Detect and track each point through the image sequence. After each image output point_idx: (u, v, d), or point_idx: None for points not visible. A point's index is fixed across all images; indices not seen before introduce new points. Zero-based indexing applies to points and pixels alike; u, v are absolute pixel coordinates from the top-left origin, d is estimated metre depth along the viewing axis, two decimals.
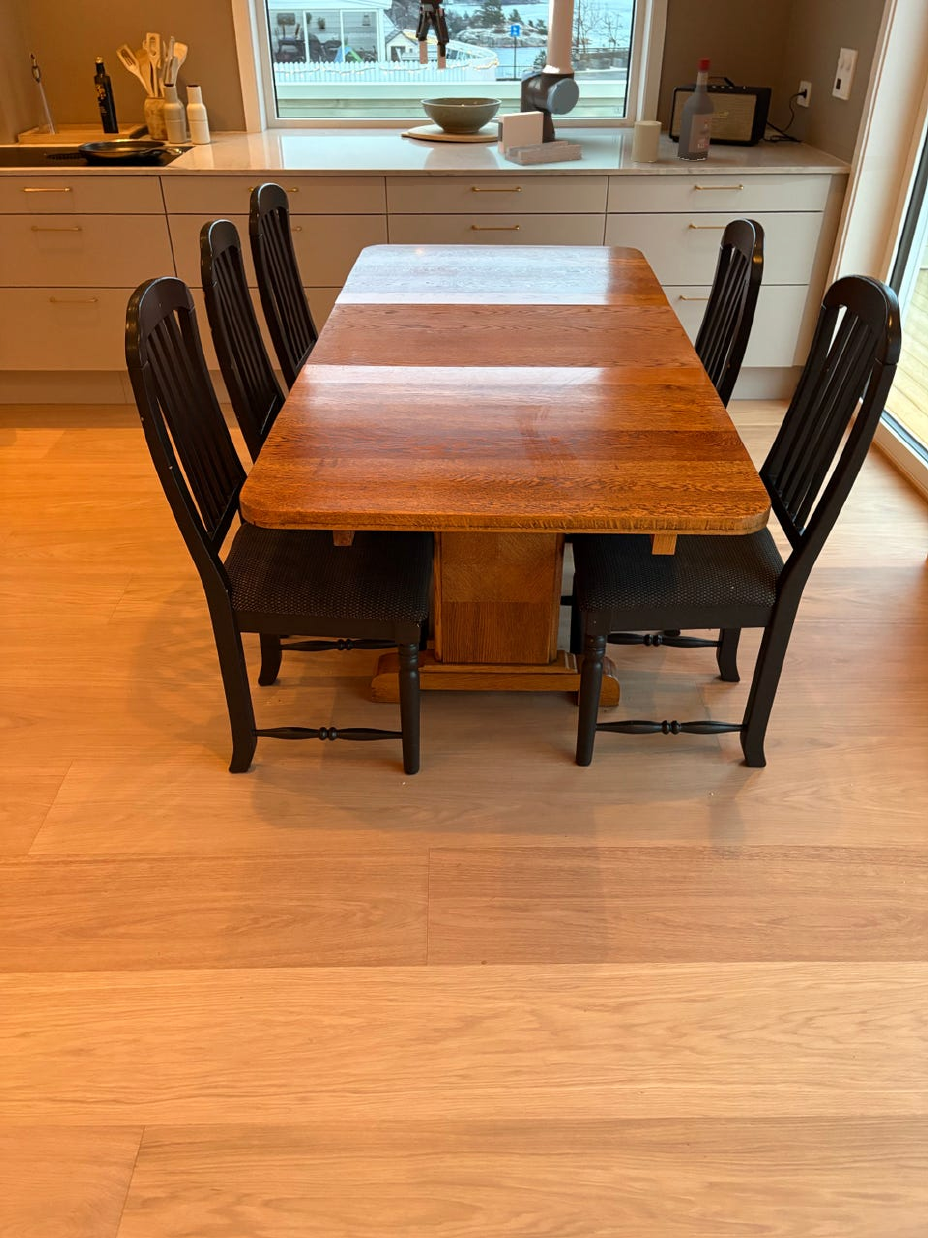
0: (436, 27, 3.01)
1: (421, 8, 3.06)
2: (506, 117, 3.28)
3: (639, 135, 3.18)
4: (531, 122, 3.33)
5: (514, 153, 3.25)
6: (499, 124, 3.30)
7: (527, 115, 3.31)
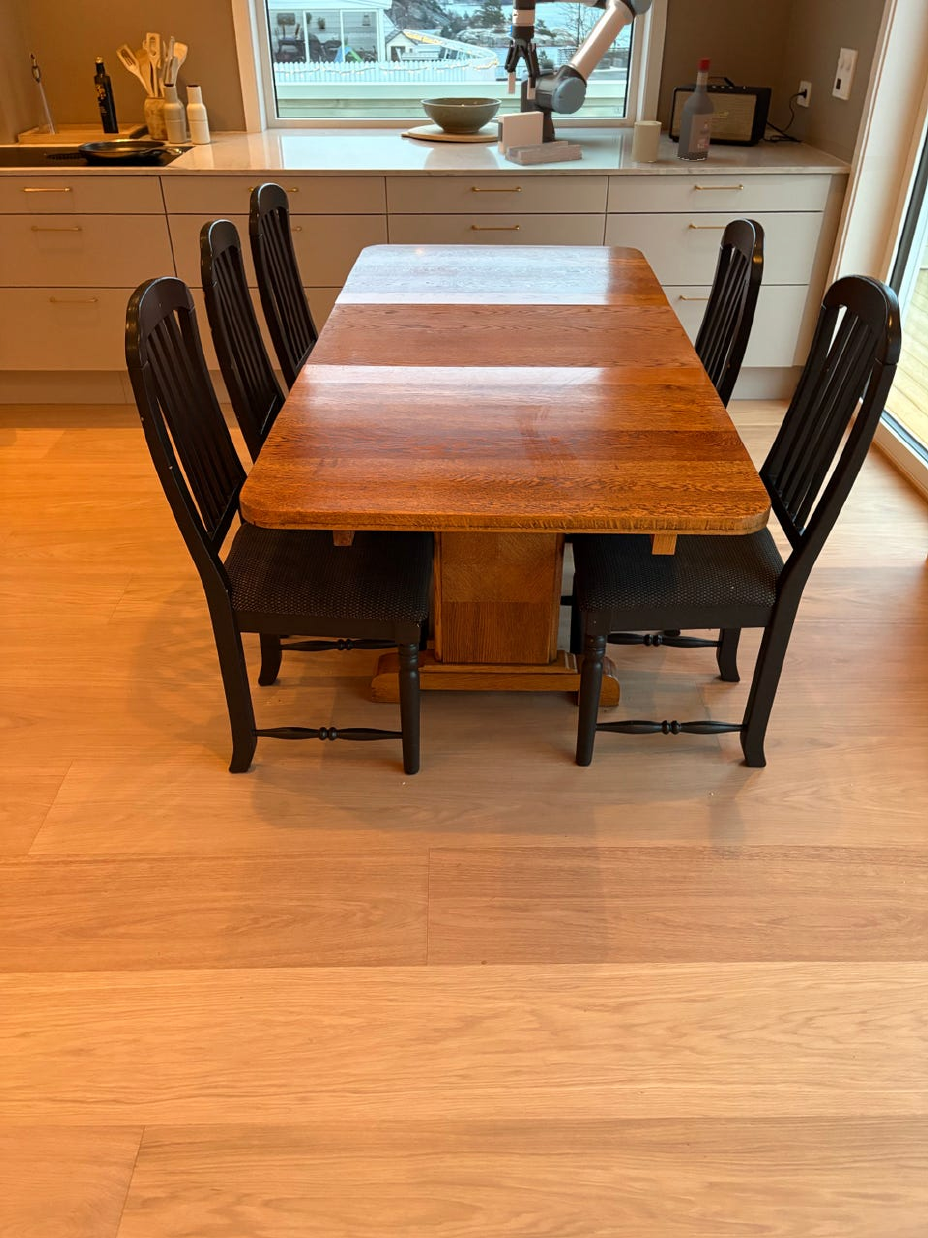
0: (527, 60, 3.18)
1: (512, 42, 3.23)
2: (506, 117, 3.28)
3: (639, 135, 3.18)
4: (531, 122, 3.33)
5: (514, 153, 3.25)
6: (499, 124, 3.30)
7: (527, 115, 3.31)
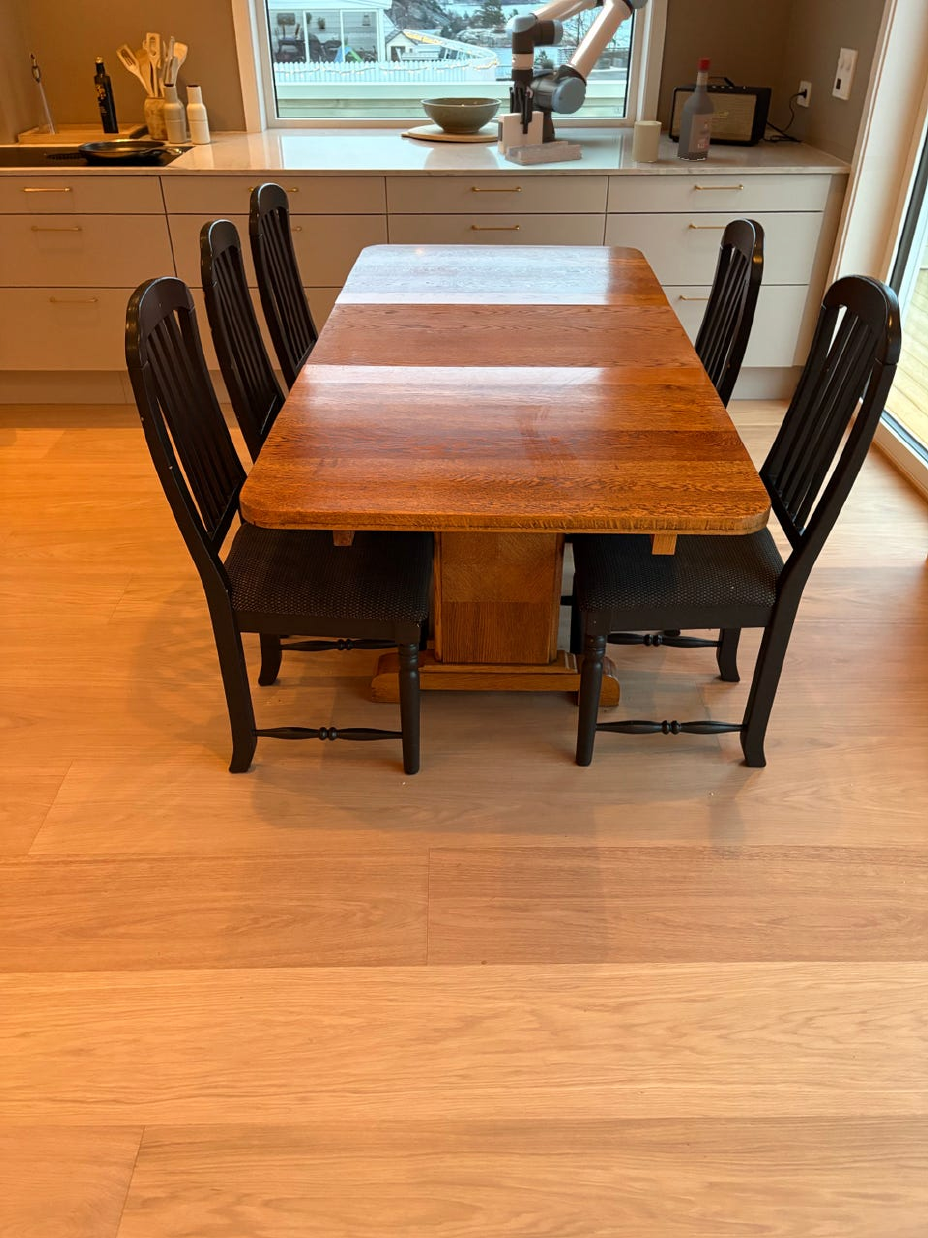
0: (523, 106, 3.28)
1: (511, 88, 3.31)
2: (506, 117, 3.28)
3: (639, 135, 3.18)
4: (531, 122, 3.33)
5: (514, 153, 3.25)
6: (499, 124, 3.30)
7: None
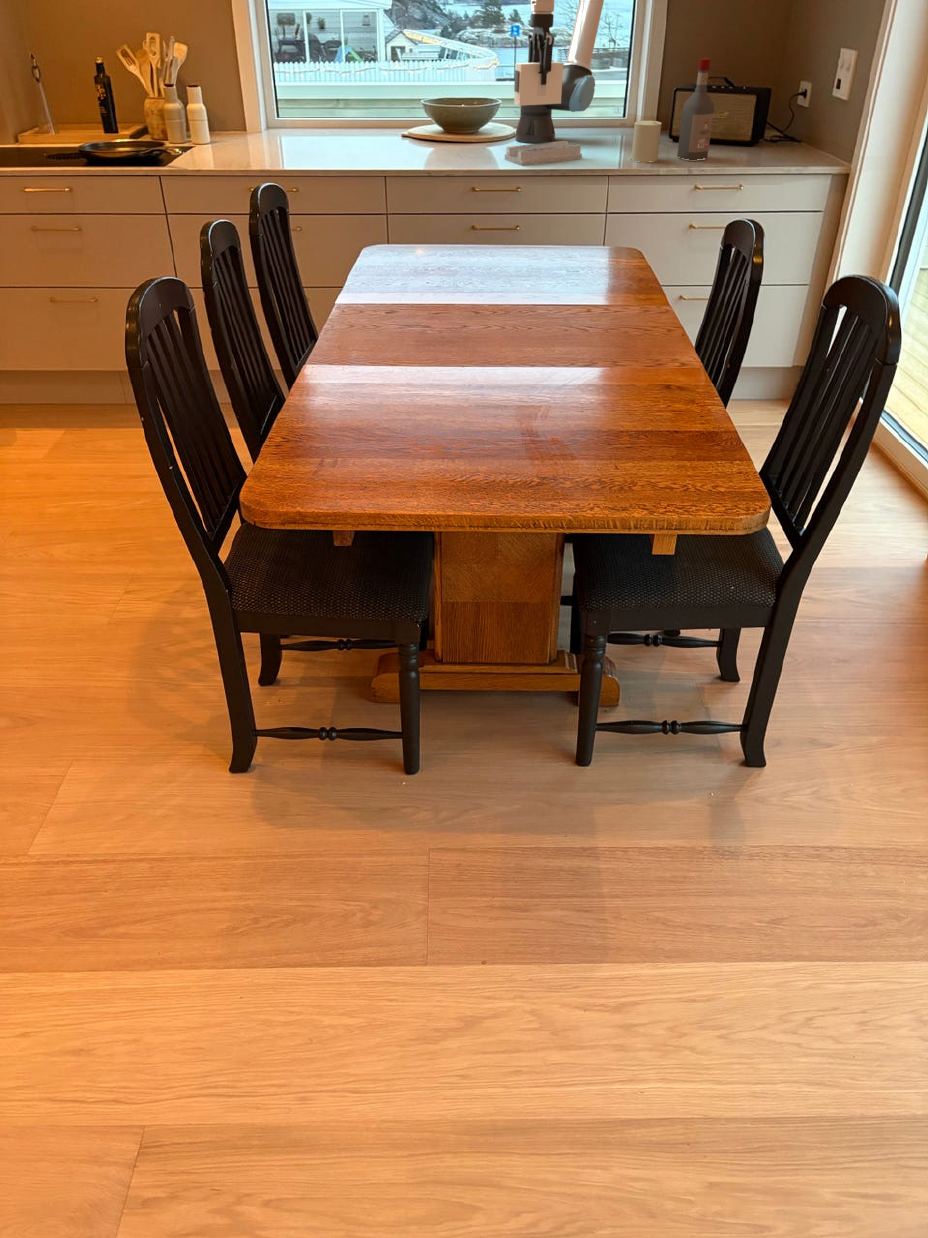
0: (542, 54, 3.09)
1: (530, 36, 3.12)
2: (523, 65, 3.09)
3: (639, 135, 3.18)
4: (550, 72, 3.14)
5: (514, 153, 3.25)
6: (516, 73, 3.11)
7: None
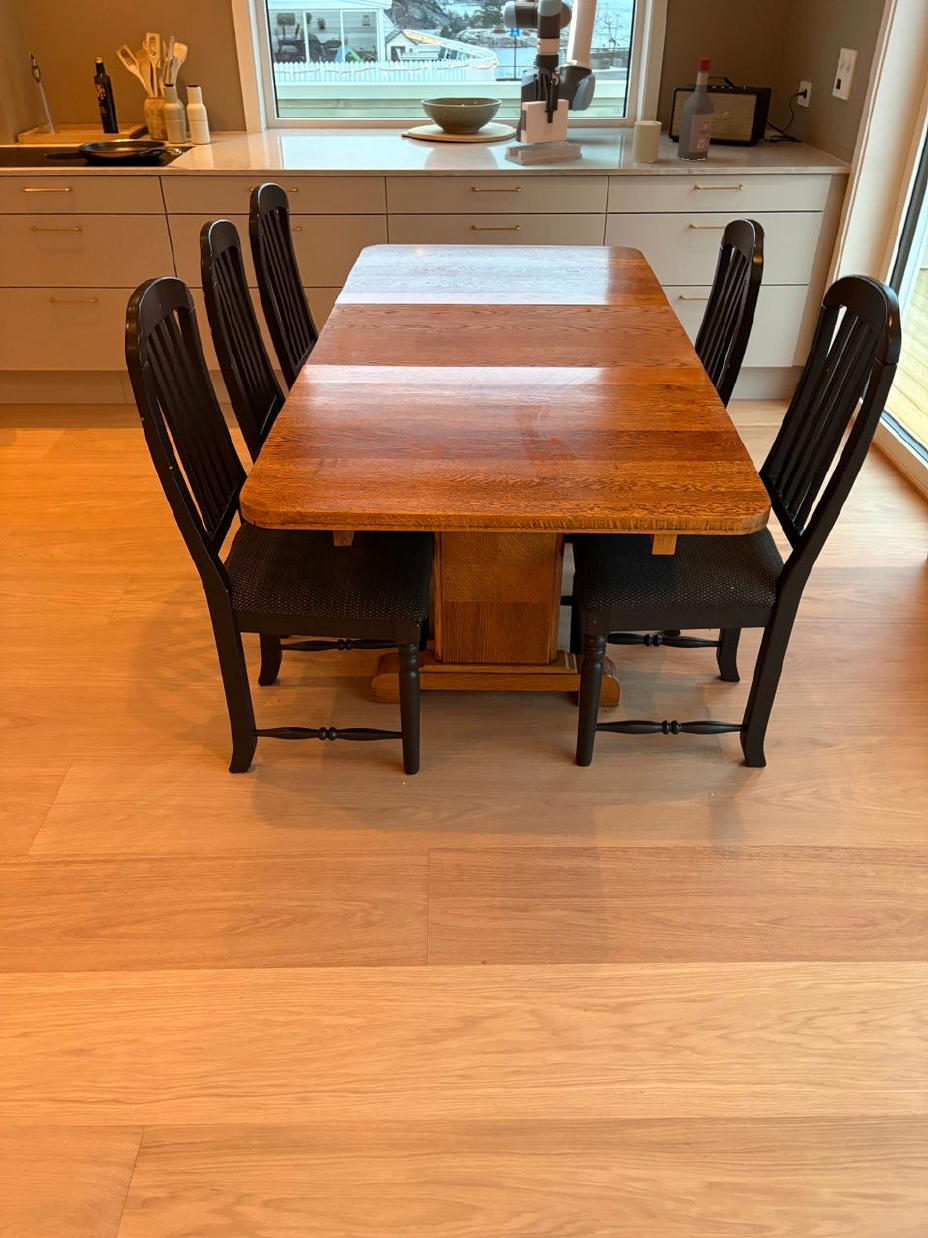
0: (548, 94, 3.13)
1: (536, 75, 3.16)
2: (530, 105, 3.13)
3: (639, 135, 3.18)
4: None
5: (514, 153, 3.25)
6: (523, 112, 3.15)
7: None
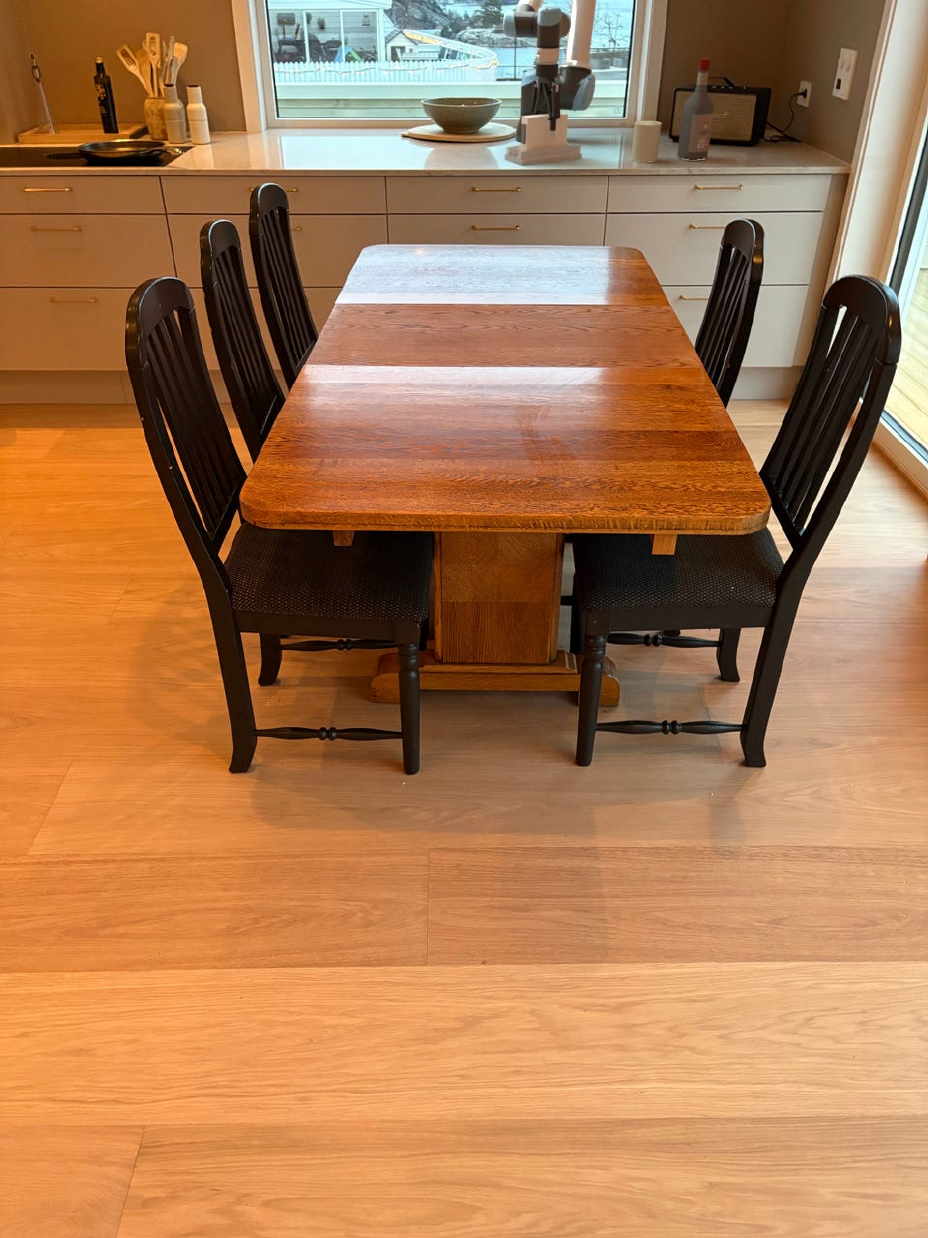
0: (549, 102, 3.14)
1: (535, 82, 3.18)
2: (530, 119, 3.16)
3: (639, 135, 3.18)
4: (556, 124, 3.21)
5: (514, 153, 3.25)
6: (522, 126, 3.18)
7: None
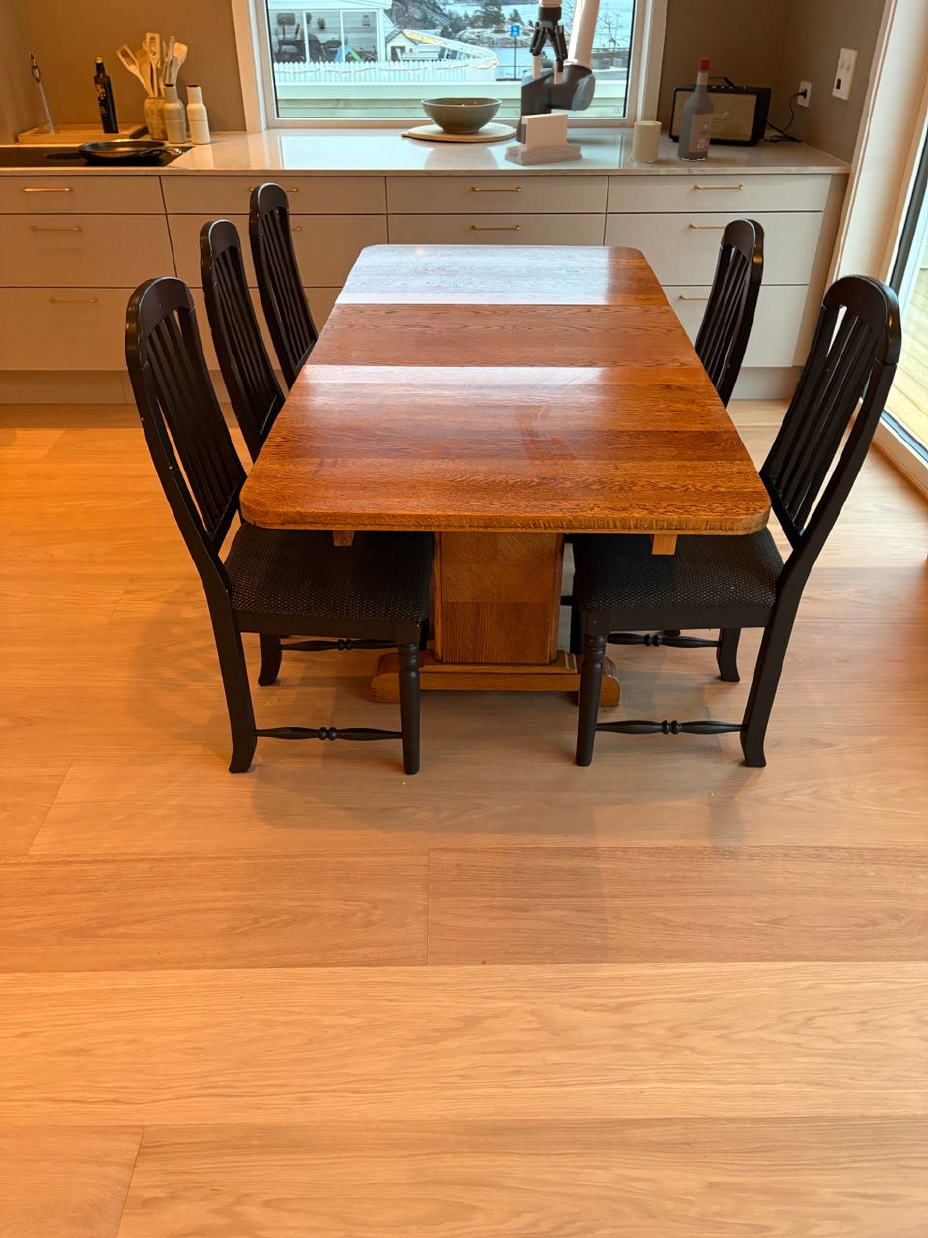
0: (555, 43, 3.05)
1: (538, 24, 3.09)
2: (530, 119, 3.16)
3: (639, 135, 3.18)
4: (556, 124, 3.21)
5: (514, 153, 3.25)
6: (522, 126, 3.18)
7: (551, 117, 3.19)
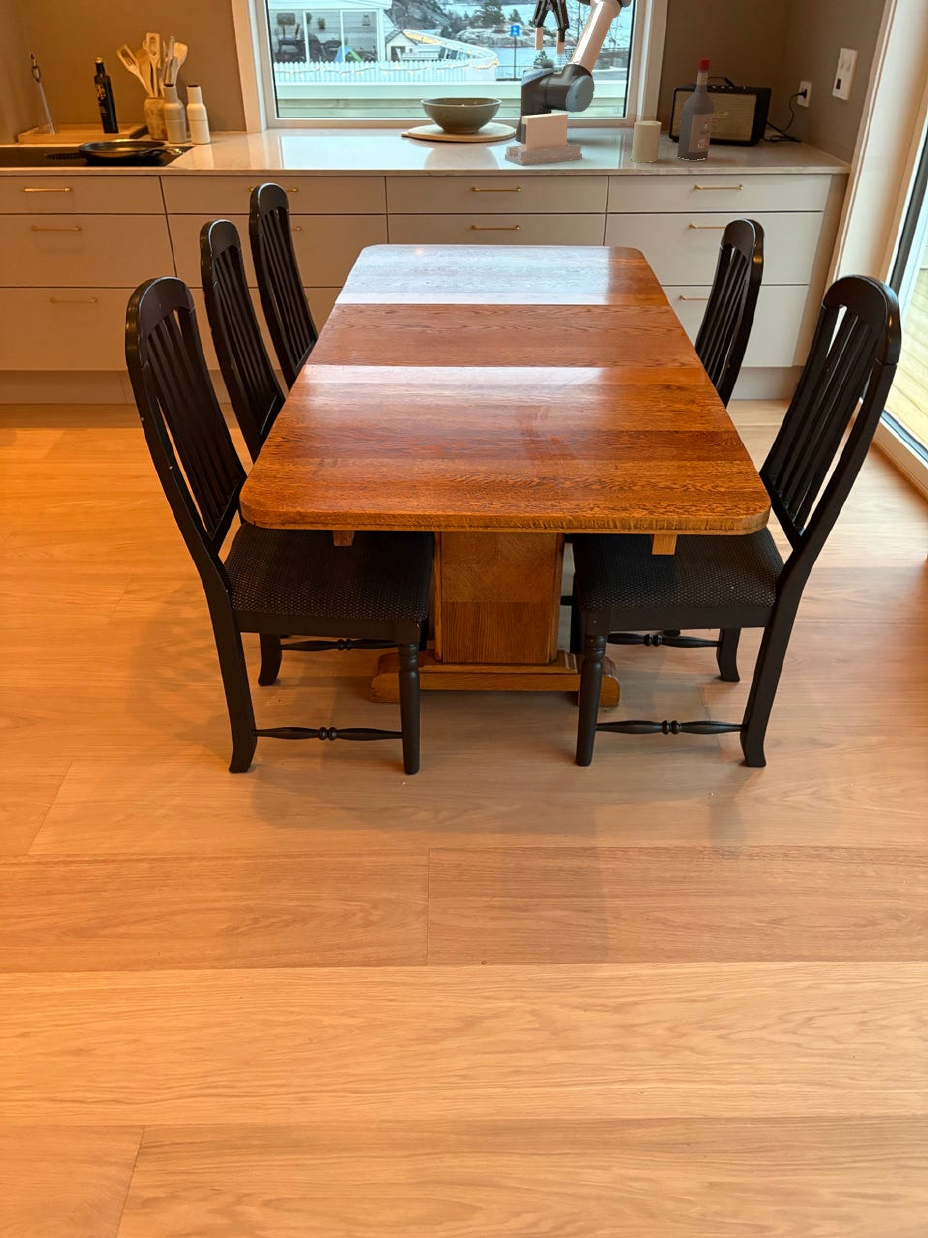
0: (556, 13, 3.10)
1: None
2: (530, 119, 3.16)
3: (639, 135, 3.18)
4: (556, 124, 3.21)
5: (514, 153, 3.25)
6: (522, 126, 3.18)
7: (551, 117, 3.19)
